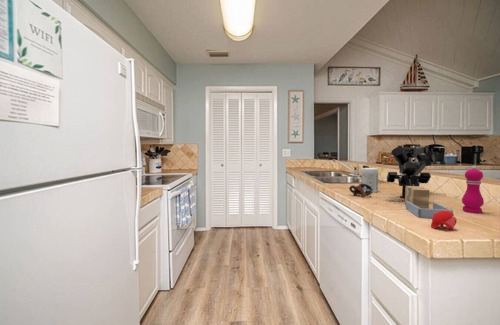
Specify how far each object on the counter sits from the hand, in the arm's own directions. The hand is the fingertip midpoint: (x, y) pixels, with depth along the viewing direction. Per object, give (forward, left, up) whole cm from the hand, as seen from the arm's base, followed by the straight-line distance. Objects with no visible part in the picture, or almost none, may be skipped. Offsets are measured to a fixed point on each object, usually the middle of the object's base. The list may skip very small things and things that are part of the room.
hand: (411, 190), depth 126 cm
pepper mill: (-9, +21, -7) cm, 24 cm away
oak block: (+4, +5, -7) cm, 9 cm away
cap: (+28, +29, -7) cm, 41 cm away
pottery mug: (+5, -26, -7) cm, 28 cm away
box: (+12, +15, -7) cm, 20 cm away
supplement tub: (-13, -35, -7) cm, 38 cm away
